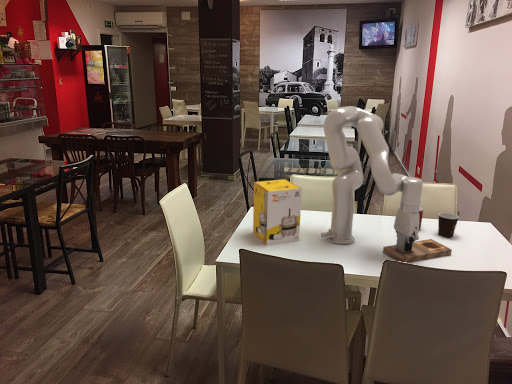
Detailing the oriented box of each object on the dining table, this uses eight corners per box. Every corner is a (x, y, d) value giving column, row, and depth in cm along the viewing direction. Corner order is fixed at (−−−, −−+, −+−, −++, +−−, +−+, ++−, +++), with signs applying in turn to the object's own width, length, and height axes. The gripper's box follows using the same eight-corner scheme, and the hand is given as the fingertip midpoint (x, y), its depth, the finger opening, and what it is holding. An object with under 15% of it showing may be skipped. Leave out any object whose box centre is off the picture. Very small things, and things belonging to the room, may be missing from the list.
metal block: (402, 258, 174) (405, 236, 171) (395, 253, 178) (397, 232, 175) (410, 256, 175) (413, 234, 172) (403, 252, 179) (406, 230, 176)
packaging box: (266, 245, 184) (267, 191, 177) (253, 232, 199) (253, 182, 192) (299, 240, 190) (301, 188, 183) (283, 228, 205) (285, 179, 197)
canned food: (422, 231, 203) (425, 210, 199) (406, 231, 203) (408, 210, 200) (417, 226, 210) (420, 205, 207) (401, 225, 210) (403, 205, 207)
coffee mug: (446, 240, 193) (450, 220, 190) (431, 233, 200) (434, 214, 198) (463, 235, 198) (466, 216, 195) (448, 229, 206) (451, 210, 203)
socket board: (401, 264, 169) (402, 257, 168) (382, 252, 180) (383, 246, 179) (450, 254, 178) (451, 248, 177) (430, 244, 188) (431, 238, 188)
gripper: (388, 202, 176) (383, 241, 182) (416, 215, 161) (410, 258, 167) (403, 200, 179) (397, 239, 184) (431, 213, 164) (425, 255, 169)
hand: (403, 247), depth 175 cm, fingers closed on metal block, 4 cm apart
